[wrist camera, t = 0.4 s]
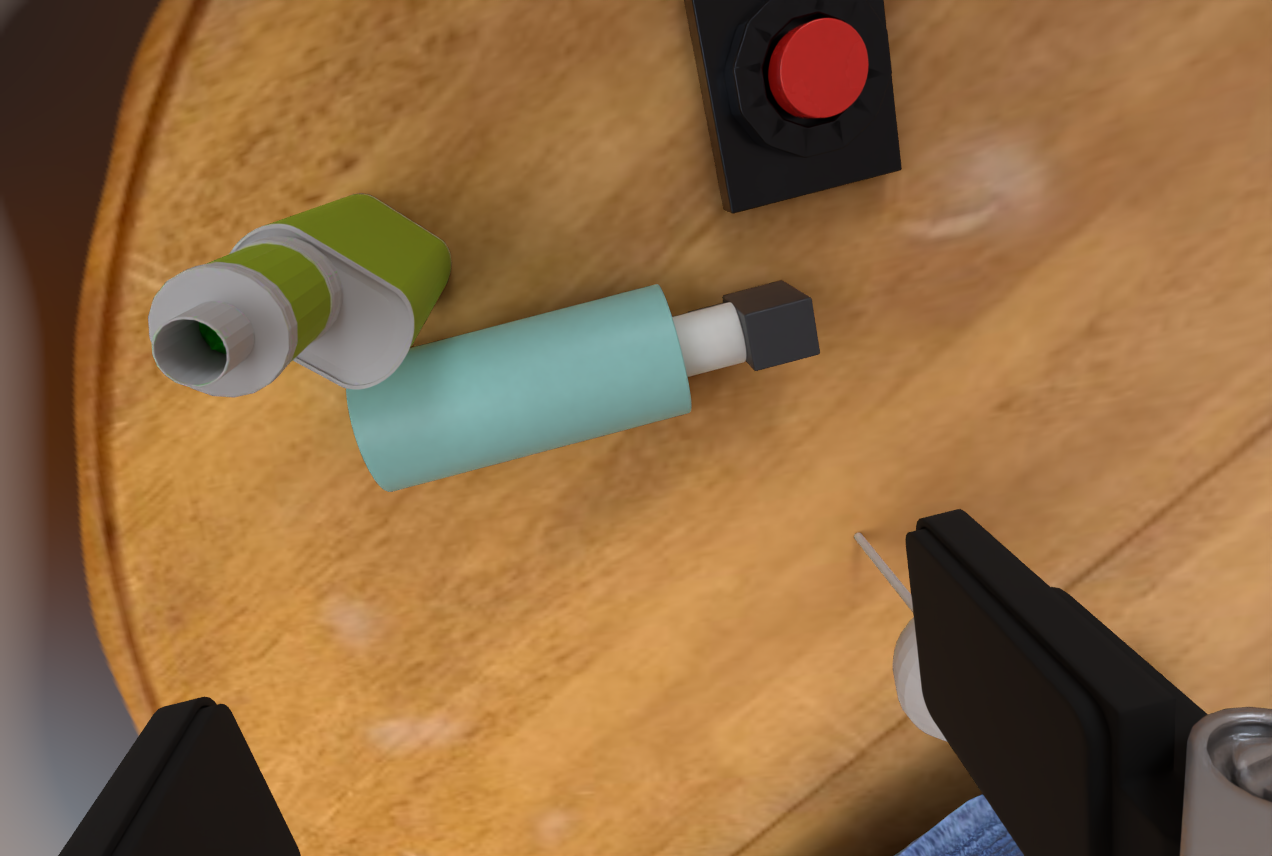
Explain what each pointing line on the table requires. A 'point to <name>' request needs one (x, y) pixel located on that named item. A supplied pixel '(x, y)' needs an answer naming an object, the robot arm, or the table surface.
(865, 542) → the lollipop
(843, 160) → the button box
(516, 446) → the spray bottle
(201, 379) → the vape
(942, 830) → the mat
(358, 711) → the table surface
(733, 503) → the table surface
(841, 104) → the button
